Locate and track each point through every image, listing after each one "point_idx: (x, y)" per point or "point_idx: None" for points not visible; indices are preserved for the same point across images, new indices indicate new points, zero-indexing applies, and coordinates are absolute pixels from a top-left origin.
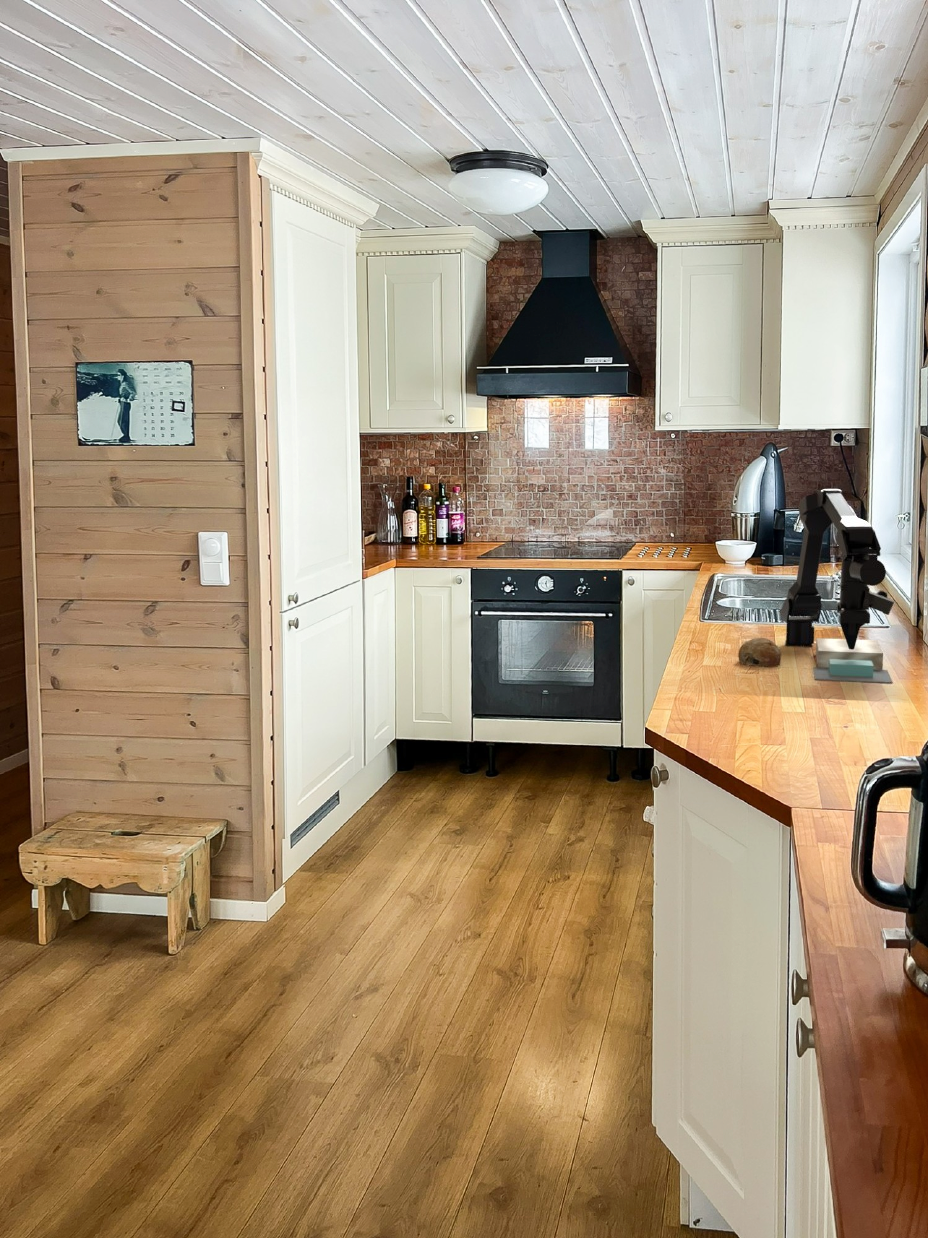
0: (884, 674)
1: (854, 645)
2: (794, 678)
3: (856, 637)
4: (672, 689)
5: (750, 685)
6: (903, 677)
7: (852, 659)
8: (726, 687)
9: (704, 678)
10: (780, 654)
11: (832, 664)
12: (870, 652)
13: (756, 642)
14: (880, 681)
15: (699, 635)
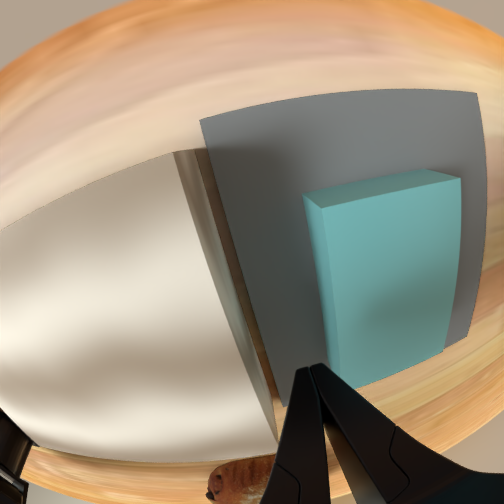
0: (350, 116)
1: (338, 379)
2: (443, 376)
3: (388, 419)
4: (487, 421)
5: (487, 388)
6: (337, 31)
7: (239, 327)
8: (491, 398)
9: (434, 446)
10: (268, 479)
11: (443, 344)
12: (189, 256)
13: None
14: (482, 137)
15: (82, 497)
